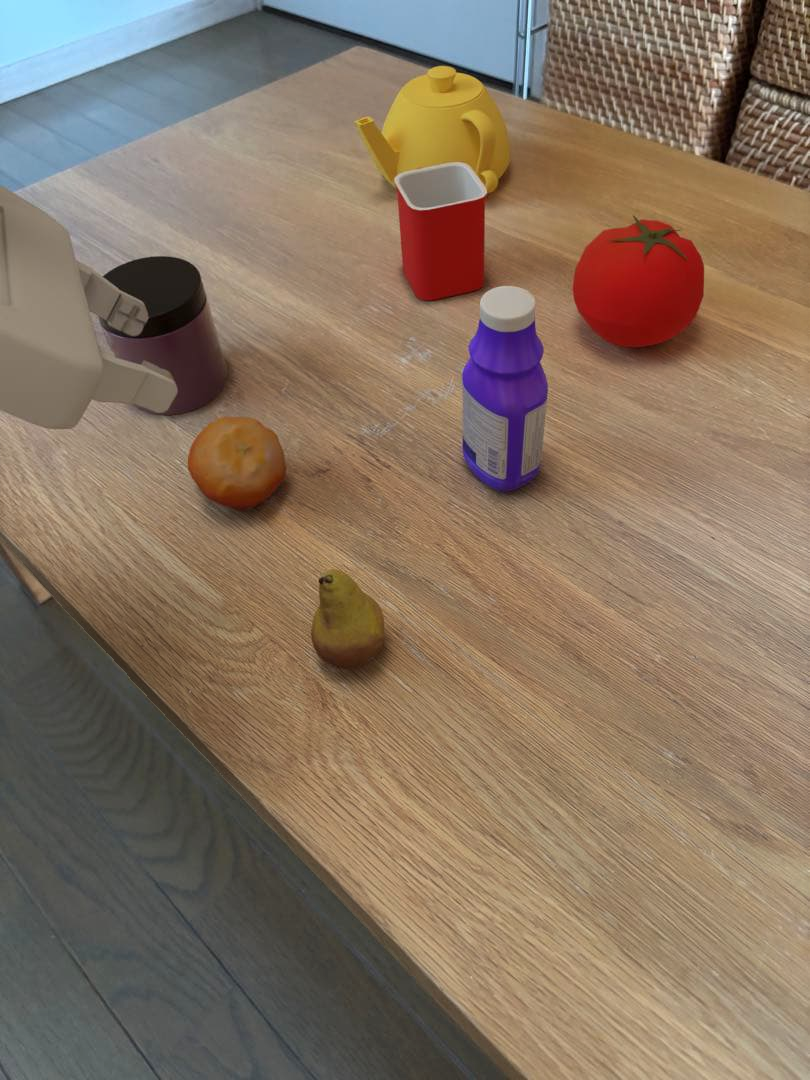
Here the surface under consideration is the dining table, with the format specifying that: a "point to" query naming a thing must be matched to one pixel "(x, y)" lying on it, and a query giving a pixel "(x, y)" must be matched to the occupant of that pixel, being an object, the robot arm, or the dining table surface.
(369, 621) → the fruit
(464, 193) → the mug
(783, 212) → the dining table surface
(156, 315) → the jar lid
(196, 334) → the jar
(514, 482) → the bottle
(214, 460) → the fruit
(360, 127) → the teapot
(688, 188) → the dining table surface
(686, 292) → the tomato
